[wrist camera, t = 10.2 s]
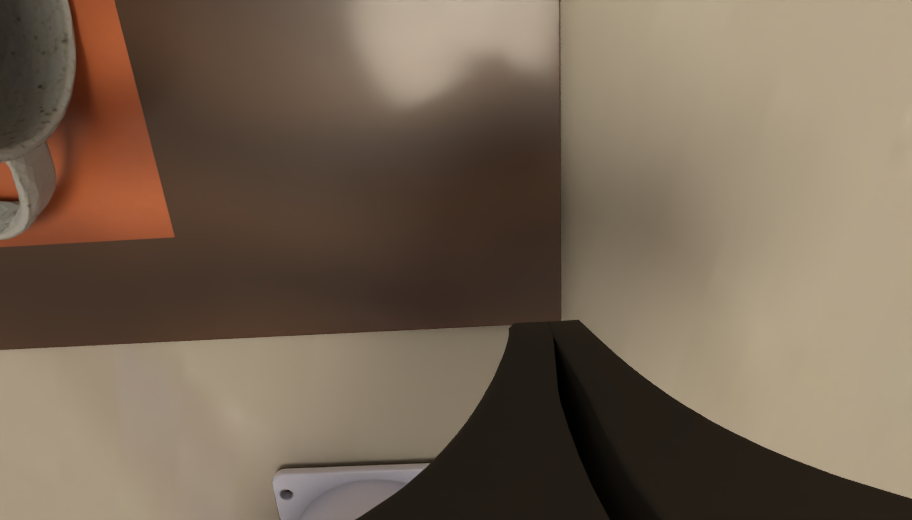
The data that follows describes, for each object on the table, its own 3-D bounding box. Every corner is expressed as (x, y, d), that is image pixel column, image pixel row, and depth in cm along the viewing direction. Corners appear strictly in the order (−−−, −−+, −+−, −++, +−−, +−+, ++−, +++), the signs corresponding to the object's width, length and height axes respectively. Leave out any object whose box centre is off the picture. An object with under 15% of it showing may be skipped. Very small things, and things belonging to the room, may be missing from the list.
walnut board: (559, 318, 22) (560, 323, 22) (-107, 351, 23) (-115, 355, 23) (558, -183, 16) (559, -186, 16) (-326, -106, 17) (-339, -108, 17)
